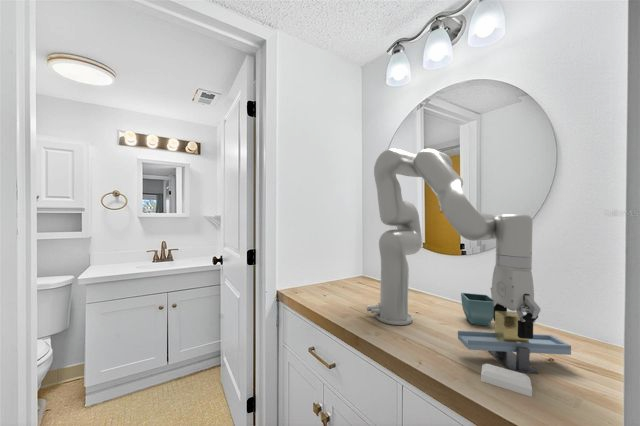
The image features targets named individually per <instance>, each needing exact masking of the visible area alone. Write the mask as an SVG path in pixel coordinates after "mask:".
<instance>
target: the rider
mask: <svg viewBox="0 0 640 426" xmlns="http://www.w3.org/2000/svg"><path fill="white" fill-rule="evenodd" d="M523 315H524V316H525V315H526V314H524V313H523ZM518 320H519V321H520V318H519V316H518V314H517V311H511V310H510V311H508V310H507V311H495V321H494V332H495V338H496V339H497V340H499V341H507V342H516V341H517V342H527V343H529V339H525V338H519V337H518Z"/></svg>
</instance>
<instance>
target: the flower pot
mask: <svg viewBox="0 0 640 426" xmlns="http://www.w3.org/2000/svg"><path fill="white" fill-rule="evenodd" d="M460 296H461V297H460V298H461V306H462V311H463V313H464V315H465V318H466V319H467V321H469V323H470V324H472V325H475V326H476V325H477V326H478V325H479V326H486V327H487V326H489V325H490V324H491V322H492V321H494V320H493V318H494V307H495V306H493V299H492V298H491V297H490V296H489V295H487V294H479V293H467V292H460Z"/></svg>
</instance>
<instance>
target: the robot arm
mask: <svg viewBox="0 0 640 426" xmlns="http://www.w3.org/2000/svg"><path fill="white" fill-rule="evenodd" d="M374 163H375V164H374V167H373V177H374V182H375V186H376V192H377V202H378V203H377V204H378V211H379V218H380V221H381V222H382V223H383V224H384V225H385V226H389V227H390V226H391V227H396V228H397V229H396V228H395V229H389V230H386V231H384V232H383V233H382V234H381V236H380V237H379V239H378V249H379V254H380V294H379V295H380V298H379V299H380V300H379V302H377V304H375V305H373V304H372V305H369V304H368V305H366V311H367V312H371V313H373V314H375V318H376V319H377V320H378V321H380V322H382V323H384V324H389V325H392V326H405V325H406V326H407V325H409V324H412V322H413V316H412V315H411V314H409V311H408V308H409V278H410V277H409V275H410V274H409V264H408V260H407V257H406V256H411V255H414V254H417V253H418V252H419V251H420V250H421V248H422V244H423V237H422V229H421V222H420V215H419V212H418V209H417V207H416V206H415V205H414V203H412V202H410V201H407V200H403V195H402V188H401V184H400V182H399V180H398V178H397V175H400V176H405V177H410V178H411V177H412V178H422V180H424V182H425V183H426V184H427V185H428V186H429V188H430V189H431V191H432V192H433V193H434V194H435V196H436V198H437V201H438V204H439V208H440V210H441V212H442V214H443V216H444V218H446V220H447V221H448V223H449V224H450V225H451V227H453V229H454V230H455V231H456V233H457V234H458V235H459V236H461V237H463V239H466V240H467V241H475V242H476V241H485V240H486V241H487V240H495V265H494V267H493V268H494V269H493V273H492V279H491V287H490V293H491V295H490V296H491V297H490V298H492V299H493V306H495V307H494V318H493V320H492V321H494V322H495V311H508V310H510V311H511V312H517V314H518V316H519V318H520V321H519V320H518V337H519V338H525V339H532V338H533V334H534V323H536V321H537V319H539V314H540V313H541V307H540V306H539V304H537V303H536V301H535V290H534V289H535V288H534V279H533V273H532V266H533V259H532V258H533V219H532V216H530V215H528V214H525V213H503V214H493V213H485V212H479V211H478V210H477V209H476V207H474V206H473V205H472V204H471V202H470V201H469V200H468V198H467V197H466V196H465V193H464V191H463V186H464V180H463V178H461V176H460V174H458V172H456V171H455V170H454V168H453V161H452V158H451V157H450V156H449V155H448V154H446V153H445V152H442V151H439V150H436V149H433V148H425V149H422V150H420V151H419V152H417V153H412V152H408V151H406V150H403V149H398V148H388V149H385V150H383V152H381V153H380V154H379V156H378V157H377V158H376V161H375V162H374ZM524 313H526V314H524ZM523 314H524V315H525V316H524V315H523Z"/></svg>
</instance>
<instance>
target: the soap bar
mask: <svg viewBox="0 0 640 426" xmlns="http://www.w3.org/2000/svg"><path fill="white" fill-rule="evenodd" d="M480 382H483V383H487V384H490V385H493V386H496V387H500V388H502V389H505V390H508V391H512V392H515V393H518V394H522V395H524V396H528V397H531V398H533V387H532V386H533V385H532V381H531V378H530V376H528V375H527V373H519V372H515V371H512V370H509V369H507V368H506V367H505V368H504V367H500V366H497V365H493V364H490V363H484V364H482V366H481V371H480Z"/></svg>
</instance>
